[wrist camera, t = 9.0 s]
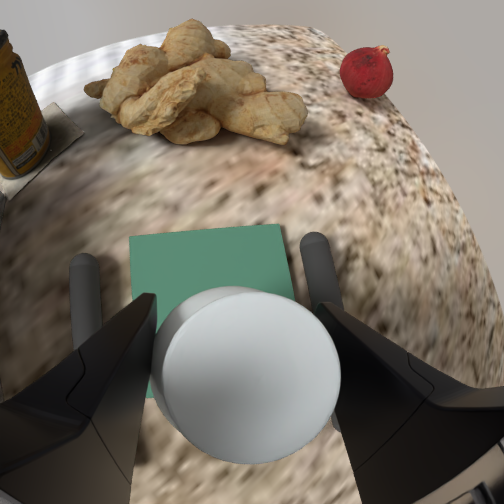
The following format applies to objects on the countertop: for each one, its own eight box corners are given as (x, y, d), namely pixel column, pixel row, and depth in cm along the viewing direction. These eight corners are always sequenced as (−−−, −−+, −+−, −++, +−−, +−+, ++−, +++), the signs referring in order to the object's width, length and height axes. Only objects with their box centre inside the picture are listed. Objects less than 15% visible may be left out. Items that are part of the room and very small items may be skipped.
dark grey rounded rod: (353, 424, 17) (368, 429, 15) (328, 433, 16) (342, 440, 14) (317, 237, 21) (329, 226, 19) (292, 239, 20) (303, 228, 18)
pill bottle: (145, 357, 14) (76, 370, 5) (215, 291, 16) (252, 211, 7) (218, 427, 13) (259, 523, 4) (285, 359, 15) (401, 364, 6)
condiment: (-11, 158, 17) (-64, 71, 6) (54, 103, 20) (26, 4, 9) (10, 202, 16) (-66, 103, 5) (85, 135, 20) (53, 14, 8)
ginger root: (83, 73, 20) (93, 4, 14) (222, 71, 29) (252, 18, 22) (91, 203, 17) (90, 118, 10) (277, 177, 25) (331, 120, 19)
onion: (351, 115, 27) (387, 61, 19) (320, 80, 28) (347, 27, 20) (382, 110, 29) (416, 65, 21) (353, 79, 30) (381, 33, 22)
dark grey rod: (135, 468, 13) (129, 480, 11) (106, 468, 12) (98, 479, 11) (102, 257, 17) (93, 247, 15) (76, 260, 16) (65, 250, 15)
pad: (304, 370, 17) (308, 371, 17) (147, 396, 15) (146, 398, 14) (276, 227, 20) (279, 223, 20) (130, 239, 18) (129, 236, 17)
